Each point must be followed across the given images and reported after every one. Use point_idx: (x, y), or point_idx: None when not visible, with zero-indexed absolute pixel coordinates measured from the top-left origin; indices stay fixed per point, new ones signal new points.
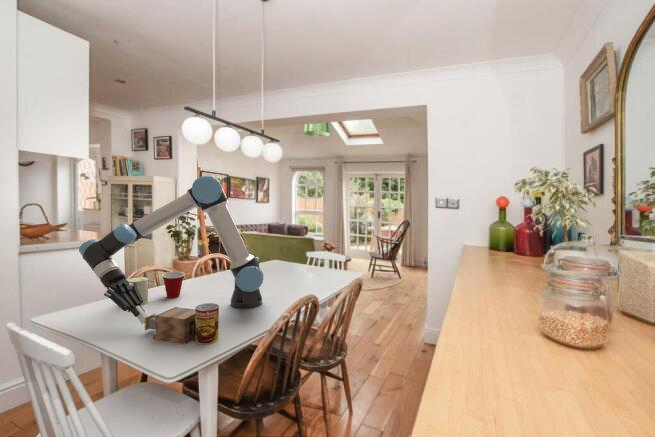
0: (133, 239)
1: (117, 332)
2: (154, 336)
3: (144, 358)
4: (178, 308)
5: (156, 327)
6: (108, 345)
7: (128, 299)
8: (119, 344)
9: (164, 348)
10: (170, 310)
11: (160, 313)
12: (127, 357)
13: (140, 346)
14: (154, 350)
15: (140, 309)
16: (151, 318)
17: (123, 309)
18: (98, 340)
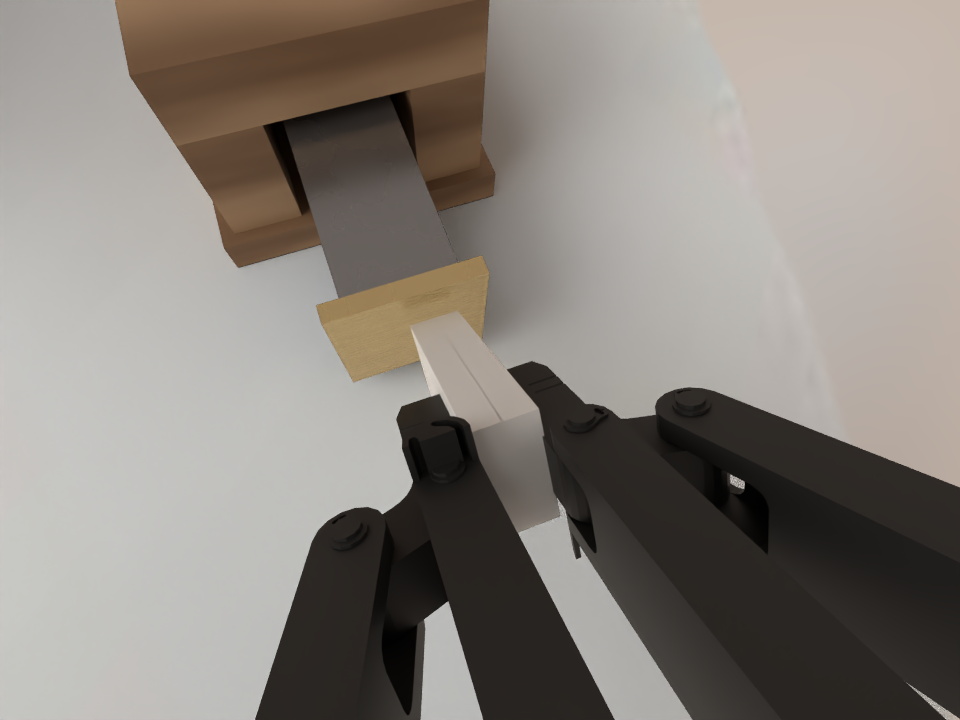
0: None
1: None
2: (490, 169)
3: (658, 13)
4: (160, 7)
5: (478, 106)
6: (781, 344)
7: (699, 526)
8: (711, 298)
9: (518, 33)
10: (272, 13)
11: (416, 9)
12: (726, 84)
13: (611, 157)
14: (574, 51)
15: (477, 380)
16: (421, 250)
17: (731, 490)
18: None
